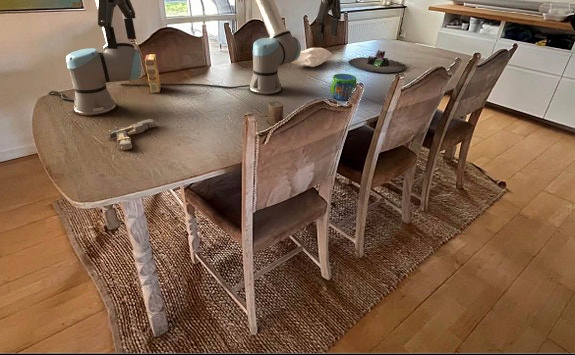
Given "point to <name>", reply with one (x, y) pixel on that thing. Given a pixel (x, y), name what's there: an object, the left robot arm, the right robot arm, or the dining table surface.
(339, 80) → the snack cup
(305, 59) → the cream pillow
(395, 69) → the dark round tray
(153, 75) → the candy box
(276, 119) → the tin
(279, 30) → the right robot arm
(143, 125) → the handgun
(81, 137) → the dining table surface
